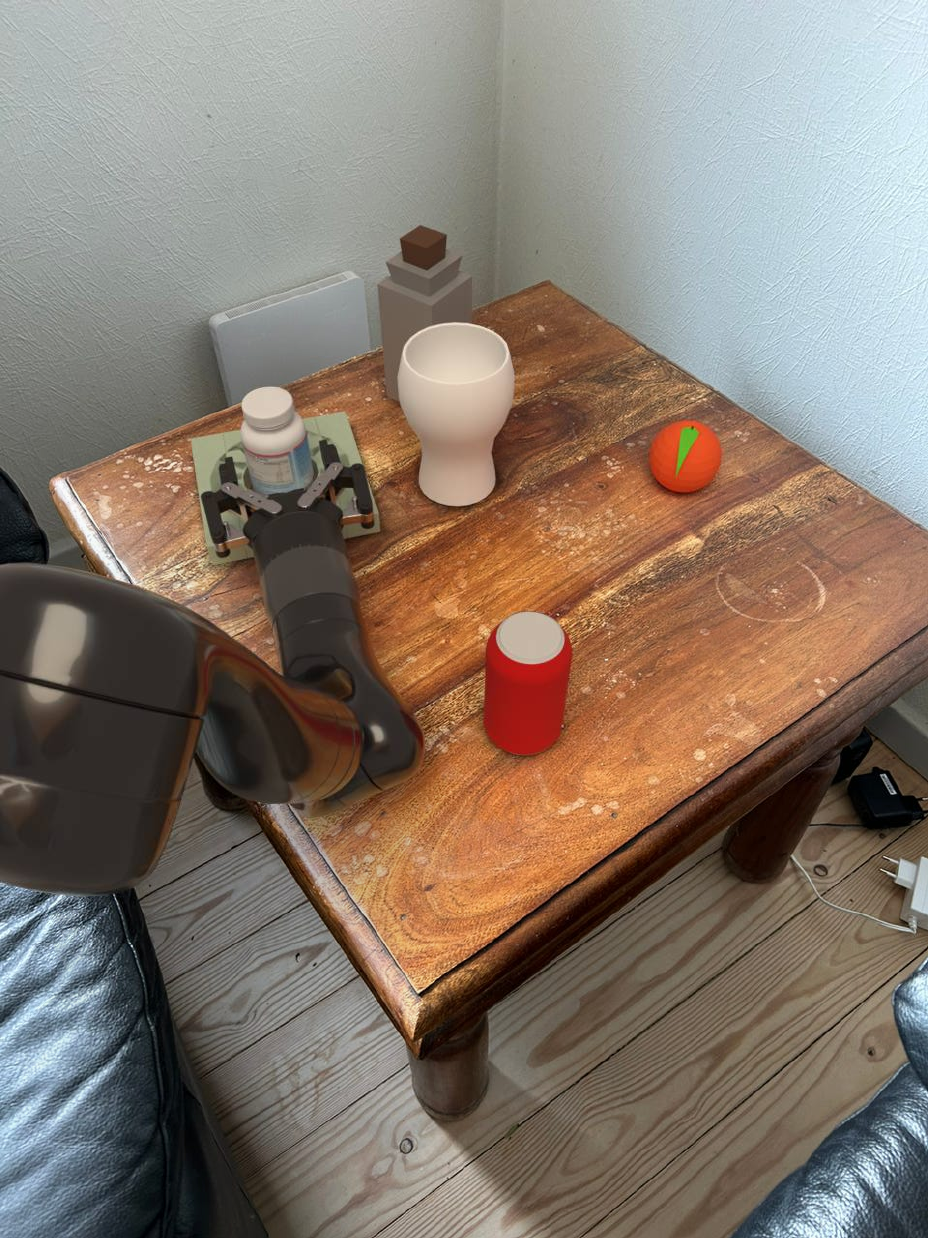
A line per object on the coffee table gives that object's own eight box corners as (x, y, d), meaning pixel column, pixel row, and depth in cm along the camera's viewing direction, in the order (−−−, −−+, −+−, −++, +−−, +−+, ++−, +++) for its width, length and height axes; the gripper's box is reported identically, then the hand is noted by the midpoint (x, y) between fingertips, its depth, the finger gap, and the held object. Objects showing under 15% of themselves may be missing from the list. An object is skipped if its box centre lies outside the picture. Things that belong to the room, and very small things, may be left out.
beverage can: (570, 754, 72) (585, 661, 63) (493, 768, 71) (497, 677, 62) (549, 691, 76) (561, 596, 67) (476, 704, 75) (477, 609, 66)
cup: (506, 445, 96) (512, 317, 85) (513, 516, 89) (520, 387, 78) (405, 447, 96) (396, 319, 84) (403, 518, 89) (394, 389, 78)
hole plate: (212, 565, 85) (206, 546, 83) (195, 457, 95) (190, 438, 93) (380, 531, 88) (378, 512, 86) (347, 429, 98) (345, 410, 96)
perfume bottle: (423, 366, 105) (417, 212, 91) (471, 387, 103) (472, 232, 89) (386, 396, 102) (373, 240, 88) (435, 418, 99) (430, 261, 85)
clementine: (703, 521, 89) (718, 465, 83) (633, 503, 90) (644, 446, 85) (720, 470, 94) (736, 413, 88) (653, 453, 95) (665, 397, 90)
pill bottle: (291, 465, 94) (273, 372, 86) (329, 494, 91) (314, 401, 83) (242, 493, 92) (219, 400, 83) (280, 524, 89) (259, 431, 80)
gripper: (391, 531, 72) (349, 408, 82) (208, 568, 70) (188, 436, 80) (396, 594, 78) (357, 472, 88) (227, 630, 75) (206, 500, 85)
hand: (276, 455), depth 84 cm, fingers open, 8 cm apart
